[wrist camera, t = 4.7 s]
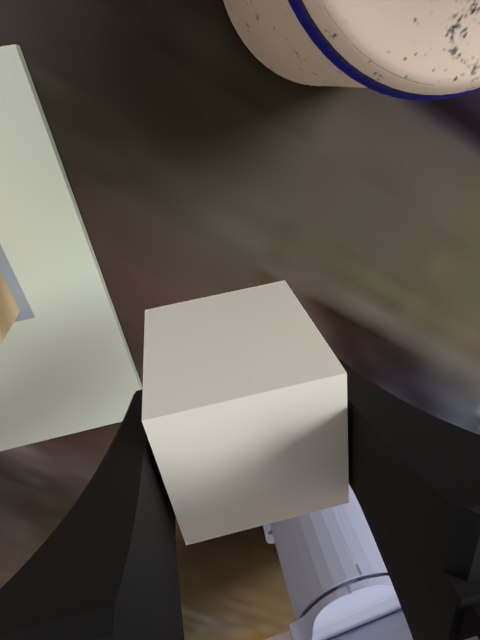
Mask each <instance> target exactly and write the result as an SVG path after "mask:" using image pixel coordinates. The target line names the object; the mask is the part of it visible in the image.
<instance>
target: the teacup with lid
mask: <svg viewBox="0 0 480 640" xmlns="http://www.w3.org/2000/svg"><path fill="white" fill-rule="evenodd" d="M223 2H224V5H225V8H226V10H227V13H228V15H229V18H230V20H231V22H232V24H233V26H234V28H235V30H236V32H237V33H238V35H239V36H240V38H241V40H242V41H243V43H244V44H245V45H246V46H247V48H248V49H249V50H250V52H251V53H252V54H253V55H254V56H255V57H256V58H257V59H258V60H259V61H260V62H261V63H262V64H264V65H265V66H266V67H267V68H269V69H270V70H272V71H273V72H274V73H276V74H278V75H280V76H282V77H283V78H285V79H288V80H290V81H293V82H296V83H300V84H304V85H310V86H331V87H360V88H370V89H372V90H375V91H377V92H379V93H382V94H385V95H389V96H393V97H396V98H402V99H409V100H439V99H447V98H452V97H457V96H461V95H465V94H468V93H471V92H474V91H477V90H480V0H223Z"/></svg>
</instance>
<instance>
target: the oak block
mask: <svg viewBox="0 0 480 640" xmlns="http://www.w3.org/2000/svg"><path fill="white" fill-rule="evenodd" d="M19 312H20V309H19V307H18V305H17V303H16V301H15V299H14V297H13V295H12V293H11V291H10V289H9V287H8V285H7V283H6V281H5V279H4V277H3V275H2V273H1V271H0V346H1V344H2V342H3V340H4V339H5V337H6V335H7V333H8V332H9V330H10V328H11V326H12V325H13V323H14V321H15V319H16V317H17V316H18V314H19Z"/></svg>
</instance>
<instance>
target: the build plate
mask: <svg viewBox="0 0 480 640" xmlns="http://www.w3.org/2000/svg"><path fill="white" fill-rule="evenodd" d="M0 271H1V273H2V275H3V277H4V279H5V281H6V283H7V285H8V287H9V289H10V291H11V293H12V295H13V297H14V299H15V301H16V303H17V305H18V307H19V309H20V312H19V314H18V316H17V317H16V319H15V321H14V323H13V325H12V326H11V328H10V330H9V332H8V333H7V335H6V337H5V339H4V340H3V342H2V344H1V346H0V451H4V450H8V449H12V448H16V447H20V446H24V445H28V444H32V443H36V442H40V441H44V440H48V439H52V438H56V437H61V436H65V435H69V434H73V433H77V432H81V431H85V430H89V429H93V428H97V427H101V426H105V425H109V424H113V423H118V422H122V421H123V419H124V416H125V414H126V412H127V410H128V407H129V405H130V402H131V400H132V397H133V395H134V393H135V392H136V391H138V390H142V389H143V387H142V384H141V382H140V379H139V376H138V373H137V370H136V368H135V365H134V362H133V359H132V357H131V354H130V351H129V348H128V345H127V343H126V340H125V337H124V334H123V331H122V329H121V326H120V323H119V320H118V318H117V315H116V312H115V309H114V306H113V304H112V301H111V298H110V295H109V293H108V290H107V287H106V284H105V281H104V279H103V276H102V273H101V270H100V268H99V265H98V262H97V259H96V256H95V254H94V251H93V248H92V245H91V243H90V240H89V237H88V234H87V231H86V229H85V226H84V223H83V220H82V218H81V215H80V212H79V209H78V206H77V204H76V201H75V198H74V195H73V193H72V190H71V187H70V184H69V181H68V179H67V176H66V173H65V170H64V168H63V165H62V162H61V159H60V156H59V154H58V151H57V148H56V145H55V143H54V140H53V137H52V134H51V131H50V129H49V126H48V123H47V120H46V118H45V115H44V112H43V109H42V106H41V104H40V101H39V98H38V95H37V92H36V90H35V87H34V84H33V81H32V79H31V76H30V73H29V70H28V67H27V65H26V62H25V59H24V56H23V54H22V51H21V48H20V45H16V44H13V45H7V46H2V47H0Z"/></svg>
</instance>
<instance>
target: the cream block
mask: <svg viewBox="0 0 480 640" xmlns="http://www.w3.org/2000/svg"><path fill="white" fill-rule="evenodd" d="M142 423H143V426H144V429H145V432H146V434H147V437H148V440H149V443H150V446H151V448H152V451H153V454H154V457H155V460H156V462H157V465H158V468H159V471H160V474H161V476H162V479H163V482H164V485H165V488H166V490H167V493H168V496H169V499H170V502H171V504H172V507H173V510H174V513H175V516H176V518H177V521H178V524H179V527H180V530H181V532H182V535H183V538H184V541H185V544H186V545H190V544H194V543H197V542H201V541H205V540H209V539H213V538H216V537H220V536H224V535H228V534H232V533H236V532H239V531H243V530H247V529H251V528H255V527H259V526H262V525H266V524H270V523H274V522H278V521H281V520H285V519H289V518H293V517H297V516H301V515H304V514H308V513H312V512H316V511H320V510H324V509H327V508H331V507H335V506H339V505H343V504H346V503H349V470H348V408H347V372H346V371H345V369H344V368H343V366H342V365H341V363H340V362H339V360H338V359H337V357H336V356H335V354H334V353H333V351H332V350H331V348H330V347H329V345H328V344H327V342H326V341H325V339H324V338H323V336H322V335H321V334H320V332H319V331H318V329H317V328H316V326H315V325H314V323H313V322H312V320H311V319H310V317H309V316H308V314H307V313H306V311H305V310H304V308H303V307H302V305H301V304H300V302H299V301H298V299H297V298H296V296H295V295H294V293H293V292H292V290H291V289H290V287H289V286H288V284H287V283H286V281H285V280H284V281H280V282H275V283H270V284H265V285H261V286H256V287H251V288H247V289H242V290H237V291H232V292H228V293H223V294H218V295H214V296H209V297H204V298H199V299H195V300H190V301H185V302H181V303H176V304H171V305H166V306H162V307H157V308H152V309H148V310H145V326H144V360H143V393H142Z"/></svg>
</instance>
